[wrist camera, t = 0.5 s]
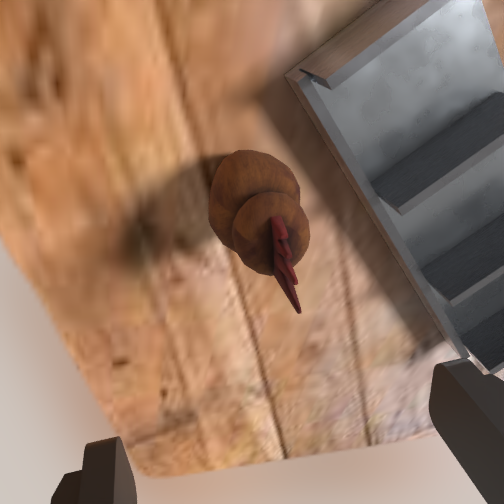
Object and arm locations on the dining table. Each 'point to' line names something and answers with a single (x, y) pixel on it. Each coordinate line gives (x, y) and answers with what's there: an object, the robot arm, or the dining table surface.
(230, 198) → the wooden figurine
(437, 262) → the grey shelf
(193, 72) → the dining table surface
